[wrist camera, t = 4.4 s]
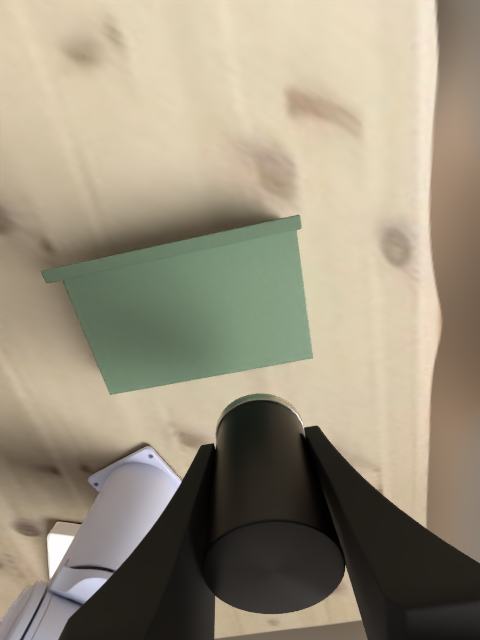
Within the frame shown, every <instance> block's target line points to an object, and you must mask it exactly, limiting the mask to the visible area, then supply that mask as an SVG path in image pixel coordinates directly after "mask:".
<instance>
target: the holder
mask: <svg viewBox="0 0 480 640" xmlns="http://www.w3.org/2000/svg"><path fill="white" fill-rule="evenodd" d="M216 442H217V443H216V452H215V460H214V468H213V476H212V485H211V493H210V501H209V509H208V518H207V526H206V534H205V542H204V551H203V559H202V573H203V577H204V580H205V583H206V585H207V586H208V588H209V589H210V590H211V591H212V593H213V594H214V595H215V596H217V597H218V598H219V599H220V600H222V601H223V602H225V603H227V604H229V605H231V606H233V607H235V608H238V609H241V610H245V611H248V612H254V613H261V614H282V613H290V612H294V611H299V610H302V609H305V608H308V607H310V606H313V605H315V604H317V603H319V602H321V601H322V600H324V599H325V598H327V597H328V596H329V595H330V594H331V593H333V592H334V590H335V589H336V588H337V587H338V586H339V584H340V582H341V581H342V578H343V576H344V572H345V557H344V553H343V550H342V547H341V544H340V541H339V538H338V535H337V532H336V529H335V526H334V523H333V520H332V517H331V513H330V510H329V507H328V504H327V501H326V498H325V495H324V492H323V489H322V486H321V483H320V480H319V477H318V474H317V471H316V468H315V465H314V462H313V459H312V456H311V453H310V450H309V447H308V444H307V441H306V438H305V432H304V425H303V422H302V419H301V417H300V415H299V413H298V411H297V410H296V409H295V408H294V407H293V406H292V405H291V404H290V403H289V402H287V401H286V400H284V399H282V398H280V397H277V396H274V395H270V394H251V395H247V396H244V397H241V398H239V399H237V400H235V401H233V402H232V403H231V404H229V405H228V406H227V407H226V408H225V409H224V411H223V412H222V413H221V415H220V417H219V419H218V422H217V428H216Z"/></svg>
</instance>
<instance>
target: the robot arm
mask: <svg viewBox="0 0 480 640" xmlns="http://www.w3.org/2000/svg"><path fill="white" fill-rule="evenodd" d="M304 432H305V438H306V441H307V444H308V447H309V450H310V453H311V456H312V459H313V462H314V465H315V468H316V471H317V474H318V477H319V480H320V483H321V486H322V489H323V492H324V495H325V498H326V501H327V504H328V507H329V510H330V513H331V517H332V520H333V523H334V526H335V529H336V532H337V535H338V538H339V541H340V544H341V547H342V550H343V553H344V557H345V565H346V568H347V571H348V574H349V578H350V581H351V584H352V588H353V591H354V594H355V598H356V601H357V604H358V608H359V611H360V614H361V618H362V621H363V625H364V628H365V631H366V635H367V638H368V640H480V563H478V562H476V561H475V560H473V559H472V558H470V557H469V556H467V555H465V554H464V553H462V552H460V551H459V550H457V549H456V548H454V547H453V546H451V545H450V544H448V543H446V542H445V541H443V540H442V539H441V538H439V537H438V536H436V535H435V534H433V533H432V532H430V531H429V530H427V529H426V528H425V527H423V526H422V525H420V524H419V523H418V522H416V521H415V520H414V519H412V518H411V517H410V516H408V515H407V514H406V513H404V512H403V511H402V510H400V509H399V508H398V507H397V506H395V505H394V504H393V503H392V502H390V501H389V500H388V499H387V498H386V497H384V496H383V495H382V494H381V493H380V492H379V491H377V490H376V489H375V488H374V487H373V486H372V485H371V484H370V483H368V482H367V481H366V480H365V479H364V478H363V477H362V476H361V475H360V474H359V473H358V472H357V471H356V470H355V469H354V468H353V467H352V466H351V465H350V464H349V463H348V462H347V461H346V460H345V458H344V457H343V456H342V455H341V454H340V453H339V452H338V451H337V450H336V448H335V447H334V446H333V445H332V444H331V442H330V441H329V440H328V439H327V437H326V436H325V435H324V433H323V432H322V431H321V429H320V428H319V427H318V426H311V427H306V428H304ZM215 452H216V450H215V446H214V443H213V444H207V445H202V446H201V447H200V448H199V450H198V452H197V454H196V456H195V458H194V460H193V462H192V464H191V466H190V468H189V469H188V471H187V473H186V475H185V477H184V478H183V480H182V481H181V479H180V478H179V477H178V476H177V475H176V474H175V473H174V472H173V470H172V469H171V468H170V467H169V466H168V465H167V464H166V463H165V462H164V460H163V459H162V458H161V457H160V456H159V455H158V454H157V453H156V451H155V450H154V449H153V448H152V447H150V446H146V447H144V448H142V449H140V450H138V451H136V452H134V453H132V454H130V455H128V456H127V457H125V458H123V459H121V460H119V461H117V462H115V463H113V464H111V465H109V466H108V467H106V468H104V469H102V470H100V471H98V472H96V473H94V474H92V475H91V476H90V477H89V479H88V482H89V483H90V484H91V485H92V486H93V487H94V488H95V489H96V490H97V491H98V492H99V494H98V496H97V498H96V499H95V501H94V503H93V505H92V507H91V508H90V510H89V512H88V514H87V515H86V517H85V519H84V521H83V523H82V524H81V526H80V528H79V530H78V531H77V533H76V535H75V537H74V539H73V540H72V542H71V544H70V546H69V547H68V549H67V551H66V553H65V554H64V556H63V558H62V560H61V562H60V563H59V565H58V567H57V569H56V570H55V572H54V574H53V576H52V577H51V579H50V580H49V581H48V582H47V583H45V582H43V581H42V580H39V581H37V582H36V583H35V584H34V585H31V586H30V587H28V588H26V589H24V590H23V591H22V592H21V593H20V595H19V596H18V597H17V599H16V600H15V601H14V603H13V604H12V605H11V607H10V608H9V610H8V611H7V613H6V614H5V615H4V617H3V618H2V620H1V621H0V640H214V622H215V595H214V594H213V593H212V591H211V590H210V589H209V588H208V586H207V585H206V583H205V580H204V577H203V573H202V559H203V551H204V542H205V534H206V526H207V518H208V509H209V501H210V493H211V485H212V476H213V468H214V460H215ZM150 454H151V455H150Z"/></svg>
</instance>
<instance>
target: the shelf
mask: <svg viewBox="0 0 480 640" xmlns="http://www.w3.org/2000/svg"><path fill="white" fill-rule="evenodd" d="M299 229H301V219H300V215H295V216H291V217H286V218H281V219H277V220H272V221H268V222H263V223H258V224H254V225H249V226H245V227H240V228H236V229H231V230H226V231H222V232H217V233H213V234H208V235H204V236H199V237H194V238H190V239H185V240H181V241H176V242H171V243H167V244H162V245H158V246H153V247H149V248H144V249H139V250H135V251H130V252H126V253H121V254H116V255H112V256H107V257H103V258H98V259H94V260H89V261H84V262H80V263H75V264H71V265H66V266H61V267H57V268H52V269H48V270H43V271H41V273H42V275H43V277H44V280H45V282H46V283H52V282H57V281H61V280H63V283H64V285H65V288H66V290H67V292H68V295H69V297H70V300H71V302H72V304H73V307H74V309H75V312H76V314H77V316H78V319H79V321H80V324H81V326H82V328H83V331H84V333H85V336H86V338H87V340H88V343H89V345H90V348H91V350H92V352H93V355H94V357H95V360H96V362H97V364H98V367H99V369H100V372H101V374H102V376H103V379H104V381H105V384H106V386H107V388H108V391H109V393H110V395H112V394H118V393H123V392H129V391H134V390H140V389H145V388H151V387H156V386H162V385H167V384H173V383H179V382H184V381H190V380H195V379H201V378H206V377H212V376H217V375H223V374H228V373H234V372H239V371H245V370H250V369H256V368H261V367H267V366H273V365H278V364H284V363H289V362H295V361H300V360H306V359H311V358H313V354H312V346H311V338H310V331H309V323H308V315H307V307H306V300H305V292H304V284H303V276H302V269H301V261H300V253H299V246H298V238H297V230H299Z"/></svg>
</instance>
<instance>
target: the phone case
mask: <svg viewBox="0 0 480 640" xmlns="http://www.w3.org/2000/svg"><path fill="white" fill-rule="evenodd" d="M80 526H81V524H74V523H67V522H59V521H58V522H56V524H55V525H54V527H53V528H52V530H51V531H50V533H49V534H48V536H47V549H48V565H49V580H50V579H51V577H52V576H53V574H54V572H55V570H56V569H57V567H58V565H59V563H60V562H61V560H62V558H63V556H64V554H65V553H66V551H67V549H68V547H69V546H70V544H71V542H72V540H73V539H74V537H75V535H76V533H77V531H78V530H79V528H80Z"/></svg>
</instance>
